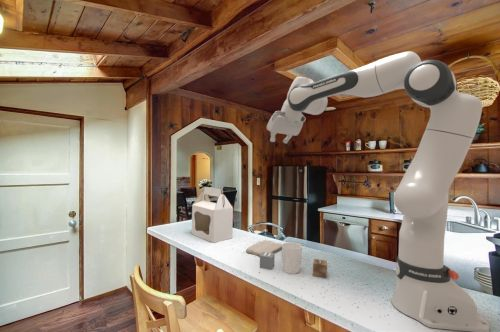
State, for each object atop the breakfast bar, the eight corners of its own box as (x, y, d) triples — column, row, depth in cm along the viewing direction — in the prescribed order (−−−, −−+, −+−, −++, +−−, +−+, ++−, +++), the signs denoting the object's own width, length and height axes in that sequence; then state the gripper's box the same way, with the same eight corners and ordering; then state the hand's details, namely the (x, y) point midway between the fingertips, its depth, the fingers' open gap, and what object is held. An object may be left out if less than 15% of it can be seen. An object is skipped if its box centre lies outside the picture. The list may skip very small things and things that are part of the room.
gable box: (232, 238, 138) (233, 188, 137) (213, 243, 128) (214, 190, 128) (209, 230, 154) (210, 185, 153) (191, 234, 144) (192, 186, 144)
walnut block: (326, 273, 96) (326, 259, 96) (326, 278, 92) (326, 264, 92) (313, 271, 98) (313, 258, 98) (312, 276, 93) (313, 262, 93)
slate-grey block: (274, 265, 103) (274, 252, 103) (271, 270, 98) (272, 257, 98) (262, 263, 104) (263, 251, 104) (259, 268, 100) (259, 255, 100)
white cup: (301, 275, 94) (302, 249, 93) (280, 273, 95) (281, 247, 95) (301, 267, 101) (301, 243, 101) (282, 265, 103) (282, 241, 103)
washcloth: (285, 249, 124) (285, 242, 124) (267, 260, 109) (267, 253, 109) (265, 244, 131) (265, 238, 131) (245, 253, 116) (245, 247, 116)
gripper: (280, 112, 99) (268, 143, 104) (308, 119, 113) (296, 146, 118) (270, 107, 103) (258, 137, 108) (297, 114, 117) (286, 140, 122)
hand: (278, 142), depth 113 cm, fingers open, 8 cm apart
